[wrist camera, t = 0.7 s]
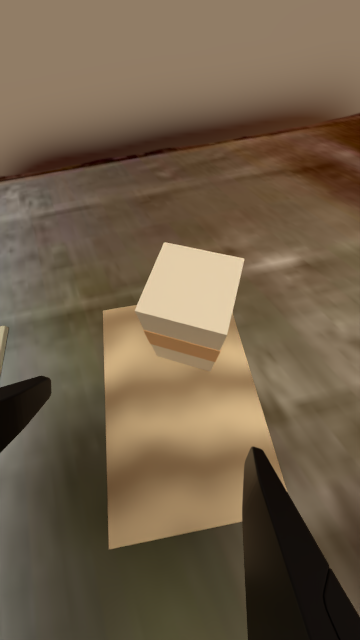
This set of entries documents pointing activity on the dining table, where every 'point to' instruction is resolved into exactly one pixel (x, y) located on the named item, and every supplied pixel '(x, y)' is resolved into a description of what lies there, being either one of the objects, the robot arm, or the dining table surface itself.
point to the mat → (2, 343)
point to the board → (175, 435)
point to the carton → (189, 304)
